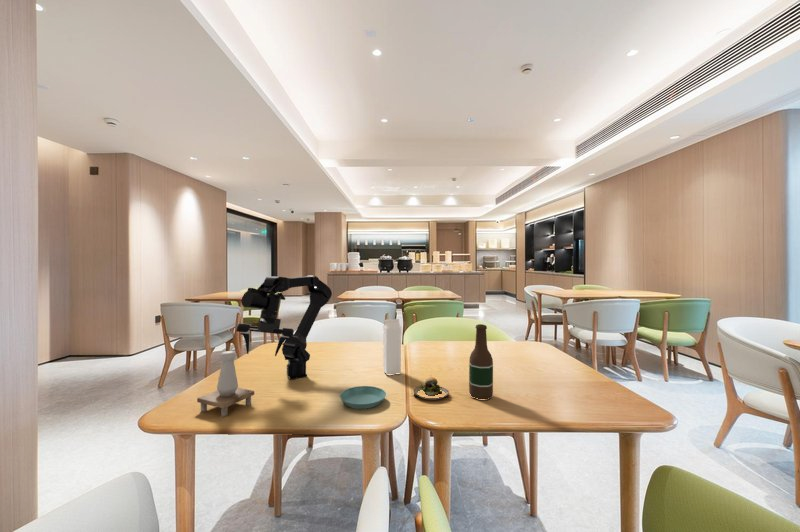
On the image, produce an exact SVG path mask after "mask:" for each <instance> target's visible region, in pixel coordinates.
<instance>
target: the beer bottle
mask: <svg viewBox="0 0 800 532" xmlns="http://www.w3.org/2000/svg"><path fill="white" fill-rule="evenodd" d="M475 329H476V330H475V345H474V349H472V351H471V353H470V354H469V355H470V356H469V362H468V368H469V369H468V370H469V371H468V372H469V373H468V374H469V375H468V381H469V382H468V387H469V388H468V390H469V393H470V394H471V396H472V397H475V398H478V399H488V398H490V397H492V396H493V395H494V360H493V357H492V354H491V353H490V351H489V348H488V341H487V340H488V339H487V329H488V327H487V325H485V324H476V325H475ZM470 394H469V395H470ZM471 396H470V397H471ZM472 397H471V398H472ZM492 398H493V397H492Z"/></svg>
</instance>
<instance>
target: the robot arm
mask: <svg viewBox="0 0 800 532" xmlns="http://www.w3.org/2000/svg"><path fill="white" fill-rule="evenodd" d="M299 287H307V288H306V289H307V292H308V293H310V295H309V305H308V307H307V308H306V310H305V313H304V314H303V316H302V318H301V320H300V322H299V324H298V327H296V328H297V329H296V330H294V329H293V328H291V327H282V328H280V327H281V326H280V325H281V321H282V319H281V318H278V315H279V314H278V313H279V309H280V305H281V304H280V303H281V300H282V301H285V300H286V297H285V296H284V294H283V292H286V291H288V290H289V289H291V288H299ZM332 293H333V292H332V290H331V288H330V287H329V286H328V285H327V284H326V283H325V282H323V281H322V280H320V279H319V277H317V276H316V275H305V276H295V277H284V276H266V277H265V279H264V280H263V282H262V283H261V285H260V286H259V287H257V288H255V287H247V291H245V292H244V294H243V295H242V297H241V305H242V307H243V308H246V309H253V310H255V309H256V310H260V314H259V315H260V316H259V319H258V323H257V326H255V325H252V323H243V322H241V323H239V324H237V327H236V332H239V333H240V334H239V335H242V336H243V339H244V342H245V343H244V344H245V348H246V349H245V350H246V354H247V355H249V353H250V348H251V347H250V346H251V332H254V333H255V332H256V333H264V334H265V333H267V334H274V335H275V334H277V335H280V337H279V340H278V343H277V347H276V349H275V353H274V357H277V355H278V353H279V351H280V349H281V352H282V354H283V356H284V360H285V361H287V364H286V375H287V377H288V378H289V379H290V380H292V379H299V378H305V377H308V374H307V362H308V361H309V360H310V357H311V354H310V352H308V351H307V350H306V349H307V345H308V344H307V338H308V336H309V334H310V331H311V329H312V328H313V325H314V323H315V321H316V319H317V317H318V315H319V313H320V311H321V308H323V307H324V306H326V305H327V303H329V301H330V299H331V298H332V295H333V294H332Z"/></svg>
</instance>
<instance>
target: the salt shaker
mask: <svg viewBox="0 0 800 532" xmlns="http://www.w3.org/2000/svg"><path fill="white" fill-rule="evenodd" d="M236 356H237V354H236V352H235V350H227V351H222V352H221V353H220V354H219V359H220V361H221V365H220V370H219V376H218V380H217V385H216V389H217V390H218V392H219V393H220V395H221V396H222V397H228V396H231V395H234V393H235V392H236V390H237V388H239V383H238V377H237V373H236V372H237V371H236V365H235V361H234V360H235V359H236ZM217 390H216V391H217Z"/></svg>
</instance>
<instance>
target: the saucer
mask: <svg viewBox="0 0 800 532" xmlns="http://www.w3.org/2000/svg"><path fill="white" fill-rule="evenodd" d="M386 396H387V392H386V391H385V390H383V388H379V387H376V386H371V385H361V386H353V387H350V388H347V389H345V390H343V391H342V392H340V395H339V398H340V400H341V401H342V402H343V404H345V405H346V406H347V407H349V408H351V409H355V410H366V409H367V408H368V409H371V407H372V408H375V407H377V406H379V405H380V404H381V403H382V402H383V401H384V400H385V398H386Z"/></svg>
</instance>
